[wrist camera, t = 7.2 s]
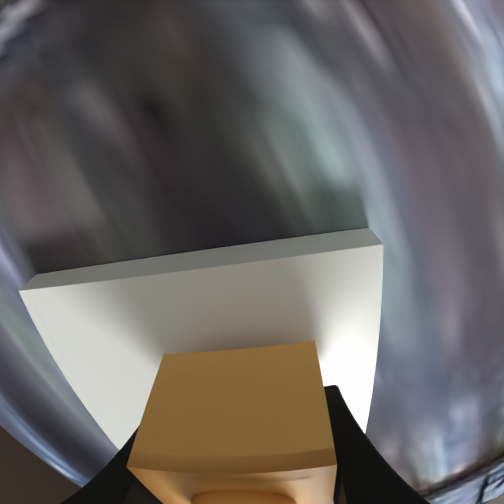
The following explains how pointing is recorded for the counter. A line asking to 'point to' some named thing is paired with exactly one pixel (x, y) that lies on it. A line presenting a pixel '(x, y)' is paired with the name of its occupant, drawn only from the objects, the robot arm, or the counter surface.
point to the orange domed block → (237, 429)
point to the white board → (212, 316)
